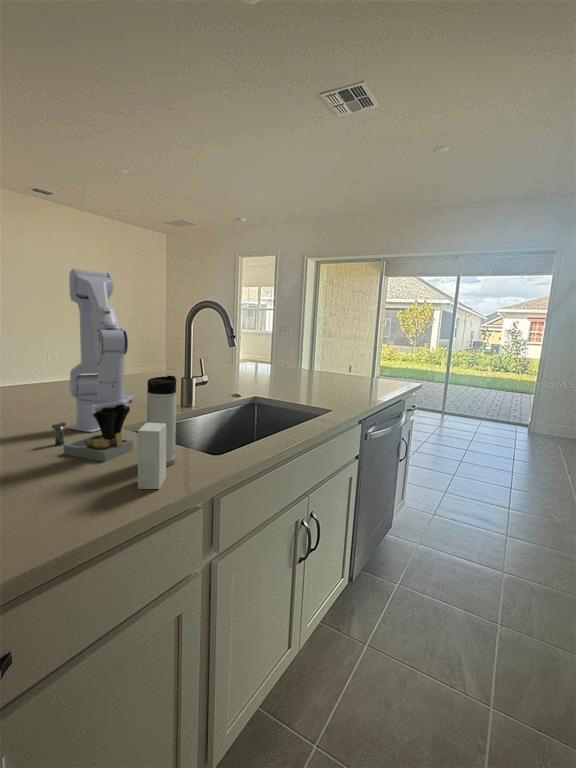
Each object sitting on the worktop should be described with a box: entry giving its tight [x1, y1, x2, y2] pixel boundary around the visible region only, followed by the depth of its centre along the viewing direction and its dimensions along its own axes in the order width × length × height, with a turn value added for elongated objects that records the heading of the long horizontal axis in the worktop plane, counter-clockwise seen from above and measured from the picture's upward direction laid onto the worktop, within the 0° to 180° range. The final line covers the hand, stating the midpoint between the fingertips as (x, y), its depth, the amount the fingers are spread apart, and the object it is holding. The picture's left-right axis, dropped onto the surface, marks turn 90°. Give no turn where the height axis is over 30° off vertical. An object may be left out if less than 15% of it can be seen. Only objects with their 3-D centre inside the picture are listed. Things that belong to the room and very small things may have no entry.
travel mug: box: [146, 375, 177, 467], centre depth 90 cm, size 6×7×20 cm
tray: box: [63, 433, 134, 463], centre depth 95 cm, size 10×11×2 cm
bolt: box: [51, 421, 67, 446], centre depth 98 cm, size 3×2×5 cm, turn 165°
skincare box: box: [137, 422, 167, 490], centre depth 79 cm, size 6×4×12 cm
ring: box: [85, 431, 123, 450], centre depth 95 cm, size 6×9×3 cm
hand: (111, 437), depth 94 cm, fingers closed on ring, 2 cm apart
